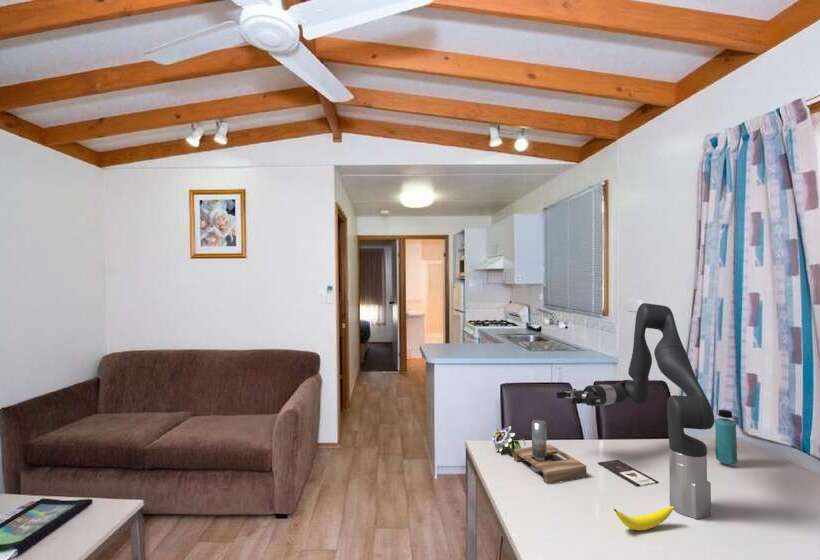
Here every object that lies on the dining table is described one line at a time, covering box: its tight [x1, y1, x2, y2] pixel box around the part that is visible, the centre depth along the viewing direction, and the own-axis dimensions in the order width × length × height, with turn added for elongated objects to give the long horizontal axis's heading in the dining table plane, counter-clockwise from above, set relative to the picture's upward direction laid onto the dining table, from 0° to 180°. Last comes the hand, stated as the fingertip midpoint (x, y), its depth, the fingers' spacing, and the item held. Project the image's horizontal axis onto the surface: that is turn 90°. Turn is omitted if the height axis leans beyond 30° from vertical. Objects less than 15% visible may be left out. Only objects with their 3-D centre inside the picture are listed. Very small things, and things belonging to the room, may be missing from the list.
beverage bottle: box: [714, 409, 739, 466], centre depth 151 cm, size 6×7×20 cm
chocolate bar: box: [597, 459, 659, 488], centre depth 144 cm, size 9×1×18 cm
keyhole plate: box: [513, 444, 587, 485], centre depth 148 cm, size 20×16×4 cm
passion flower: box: [491, 425, 526, 457], centre depth 163 cm, size 11×11×12 cm
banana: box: [613, 506, 674, 531], centre depth 111 cm, size 3×19×6 cm, turn 102°
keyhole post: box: [530, 419, 548, 474], centre depth 147 cm, size 6×6×17 cm
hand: (564, 398), depth 151 cm, fingers open, 8 cm apart
